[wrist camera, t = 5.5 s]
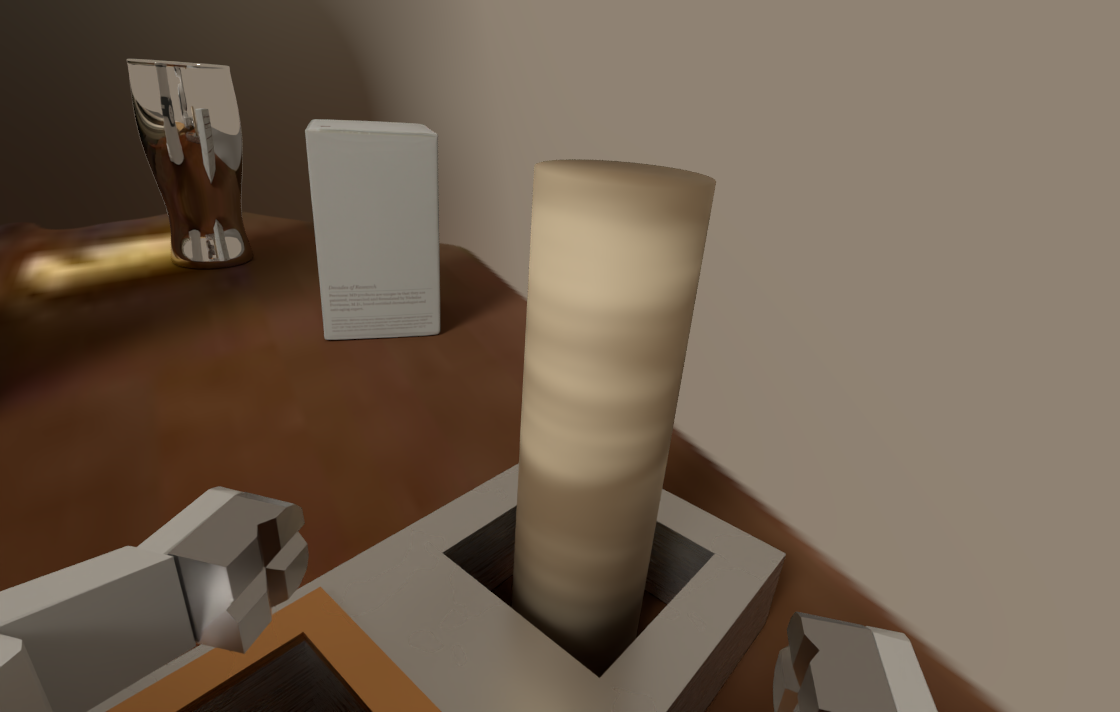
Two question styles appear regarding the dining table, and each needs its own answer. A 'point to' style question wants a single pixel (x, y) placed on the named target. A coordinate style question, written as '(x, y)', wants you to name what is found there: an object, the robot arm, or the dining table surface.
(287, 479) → the dining table surface
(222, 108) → the beer glass
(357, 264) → the supplement box
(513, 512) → the board
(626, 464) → the peg
